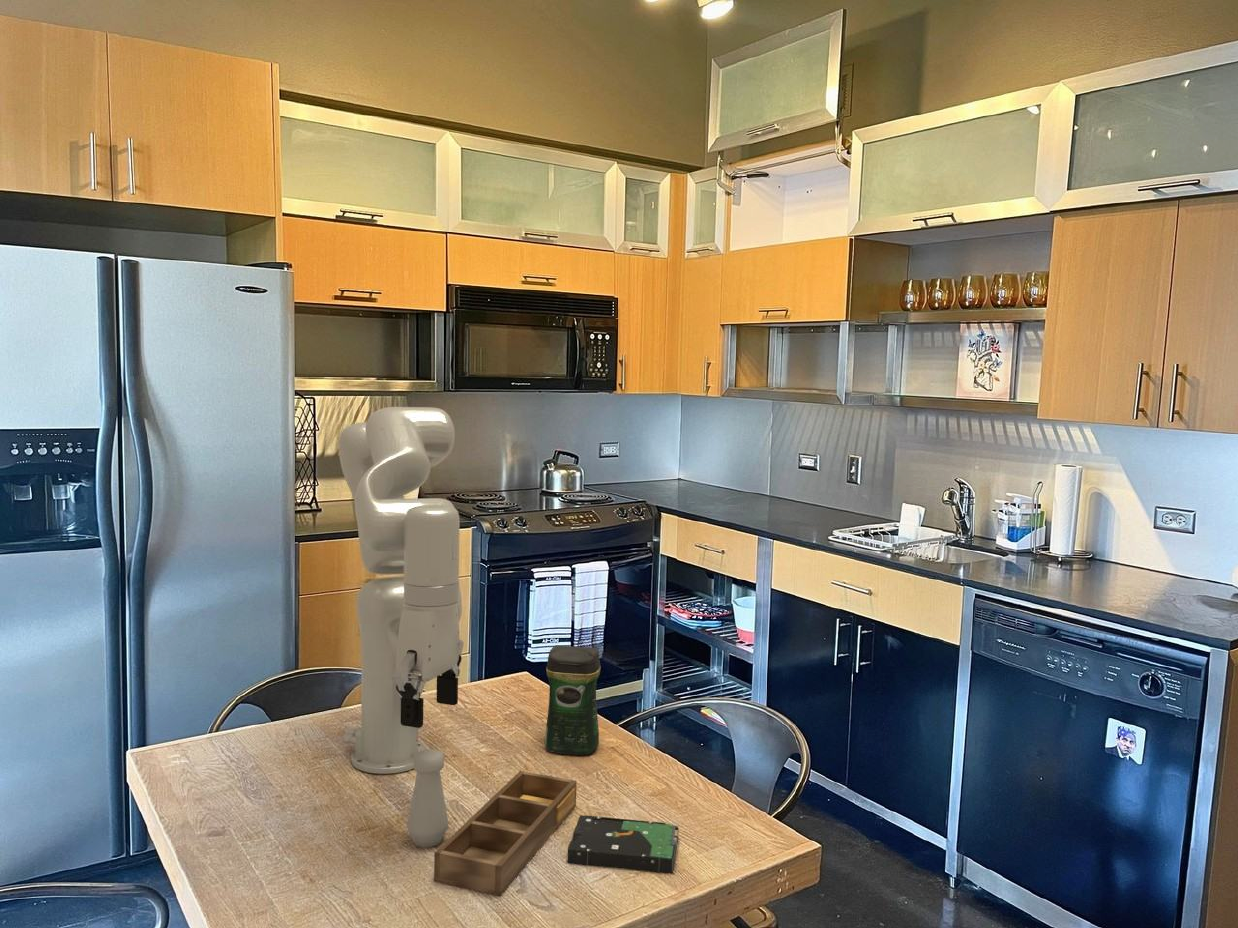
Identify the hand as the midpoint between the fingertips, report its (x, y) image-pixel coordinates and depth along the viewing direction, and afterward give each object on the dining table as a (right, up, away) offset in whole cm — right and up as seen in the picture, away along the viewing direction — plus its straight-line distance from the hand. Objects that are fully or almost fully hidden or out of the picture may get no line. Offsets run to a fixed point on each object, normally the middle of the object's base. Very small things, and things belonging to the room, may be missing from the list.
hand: (430, 714), depth 130 cm
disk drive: (+27, -20, +1) cm, 34 cm away
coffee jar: (+18, -16, +37) cm, 44 cm away
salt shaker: (-1, -19, +2) cm, 19 cm away
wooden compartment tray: (+11, -19, +3) cm, 22 cm away
